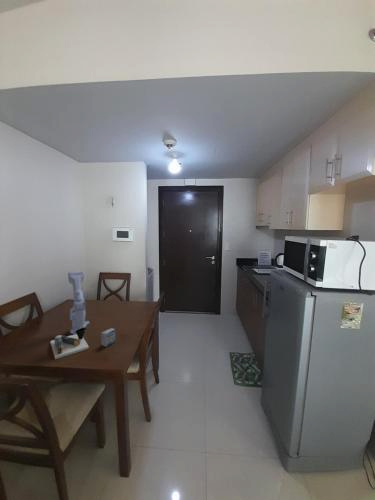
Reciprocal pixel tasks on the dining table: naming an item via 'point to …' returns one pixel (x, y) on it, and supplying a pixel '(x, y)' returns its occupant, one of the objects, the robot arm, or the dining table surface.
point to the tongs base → (58, 345)
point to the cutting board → (69, 347)
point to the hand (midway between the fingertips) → (80, 338)
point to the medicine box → (108, 337)
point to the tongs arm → (68, 340)
